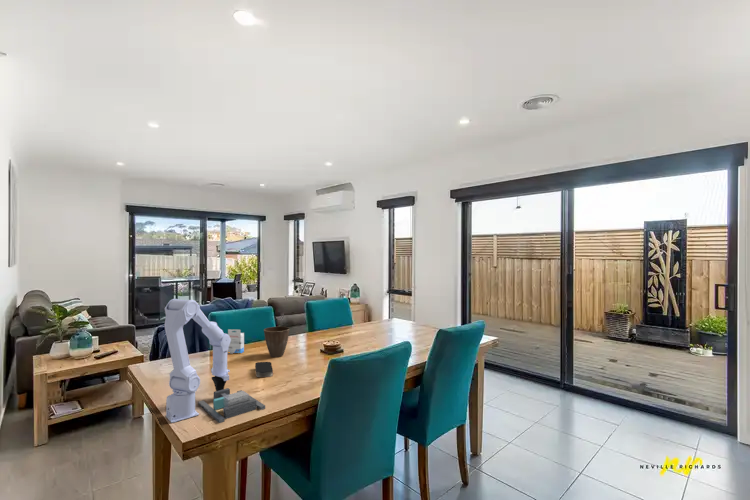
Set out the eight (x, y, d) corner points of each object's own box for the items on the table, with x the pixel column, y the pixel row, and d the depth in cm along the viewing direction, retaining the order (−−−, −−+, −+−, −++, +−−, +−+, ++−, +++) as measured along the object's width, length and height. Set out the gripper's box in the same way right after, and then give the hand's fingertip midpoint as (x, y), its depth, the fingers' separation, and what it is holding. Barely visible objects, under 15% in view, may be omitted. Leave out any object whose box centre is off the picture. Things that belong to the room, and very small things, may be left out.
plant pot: (258, 357, 212) (258, 330, 212) (272, 351, 226) (272, 325, 226) (280, 360, 207) (281, 332, 207) (293, 353, 221) (294, 327, 222)
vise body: (219, 423, 131) (219, 413, 131) (198, 404, 146) (198, 396, 146) (265, 408, 143) (265, 399, 143) (241, 392, 159) (241, 384, 159)
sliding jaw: (215, 409, 141) (215, 400, 141) (205, 402, 148) (206, 393, 148) (244, 401, 149) (245, 392, 149) (234, 394, 157) (234, 386, 157)
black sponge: (254, 369, 192) (255, 362, 192) (271, 367, 195) (271, 360, 195) (255, 379, 177) (255, 371, 177) (273, 377, 180) (273, 370, 180)
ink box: (244, 351, 225) (244, 328, 225) (240, 353, 220) (240, 329, 220) (231, 351, 225) (231, 327, 226) (227, 353, 220) (227, 329, 221)
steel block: (228, 415, 137) (228, 399, 137) (223, 411, 140) (223, 396, 140) (248, 409, 142) (248, 394, 142) (243, 405, 146) (243, 390, 146)
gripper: (236, 363, 151) (236, 395, 151) (222, 355, 161) (222, 386, 161) (219, 366, 146) (219, 400, 146) (206, 359, 156) (206, 390, 156)
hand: (219, 393), depth 153 cm, fingers closed
